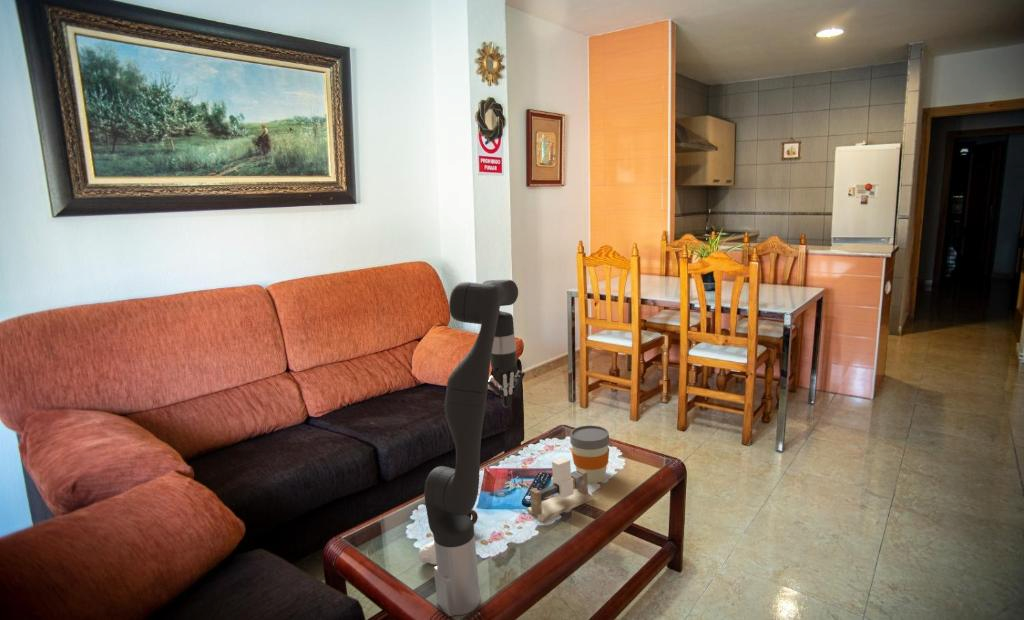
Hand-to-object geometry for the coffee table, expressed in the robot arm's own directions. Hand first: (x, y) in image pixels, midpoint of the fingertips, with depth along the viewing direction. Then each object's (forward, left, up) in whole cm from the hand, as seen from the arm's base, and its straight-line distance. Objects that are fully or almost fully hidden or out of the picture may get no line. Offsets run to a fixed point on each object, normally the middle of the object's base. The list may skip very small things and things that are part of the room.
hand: (507, 406), depth 175 cm
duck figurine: (-30, -11, -31) cm, 45 cm away
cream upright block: (+11, -10, -27) cm, 31 cm away
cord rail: (+10, -10, -31) cm, 34 cm away
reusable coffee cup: (+29, -3, -31) cm, 42 cm away
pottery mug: (-19, -1, -31) cm, 37 cm away
